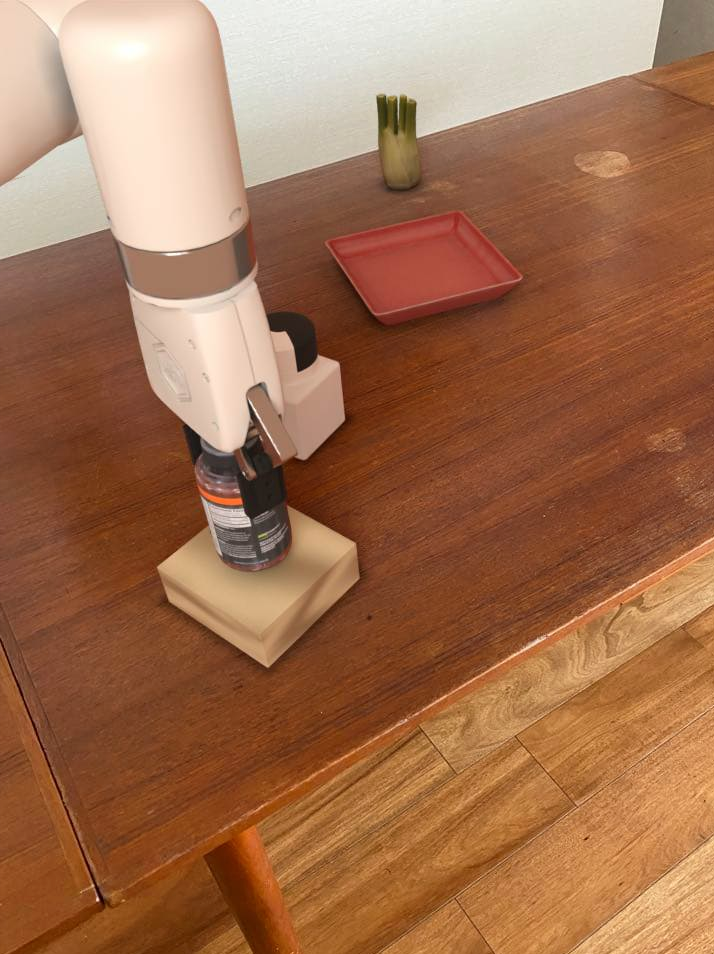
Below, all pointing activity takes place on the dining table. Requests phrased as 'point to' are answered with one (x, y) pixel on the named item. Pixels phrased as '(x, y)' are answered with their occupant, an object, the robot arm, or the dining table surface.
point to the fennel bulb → (398, 142)
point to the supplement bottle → (239, 513)
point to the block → (263, 588)
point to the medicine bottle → (306, 382)
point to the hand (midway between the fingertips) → (239, 481)
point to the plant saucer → (423, 267)
